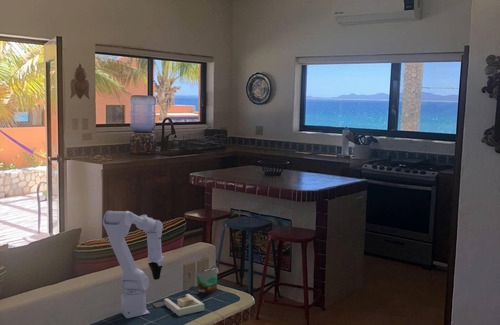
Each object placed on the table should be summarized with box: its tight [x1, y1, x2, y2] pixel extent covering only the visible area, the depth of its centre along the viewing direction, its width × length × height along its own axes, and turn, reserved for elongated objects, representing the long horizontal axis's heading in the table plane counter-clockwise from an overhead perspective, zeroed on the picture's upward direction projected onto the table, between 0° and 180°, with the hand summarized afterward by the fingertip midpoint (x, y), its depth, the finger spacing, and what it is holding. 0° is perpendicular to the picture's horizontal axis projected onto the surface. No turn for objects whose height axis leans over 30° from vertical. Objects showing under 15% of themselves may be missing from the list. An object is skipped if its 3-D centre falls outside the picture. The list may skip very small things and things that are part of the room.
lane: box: [163, 293, 205, 317], centre depth 219 cm, size 11×16×2 cm, turn 28°
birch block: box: [176, 296, 194, 308], centre depth 218 cm, size 5×5×4 cm
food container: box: [195, 265, 219, 294], centre depth 239 cm, size 12×6×10 cm, turn 143°
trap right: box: [190, 294, 201, 300], centre depth 231 cm, size 4×6×1 cm
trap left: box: [151, 301, 167, 309], centre depth 224 cm, size 4×6×1 cm
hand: (156, 279), depth 229 cm, fingers closed
